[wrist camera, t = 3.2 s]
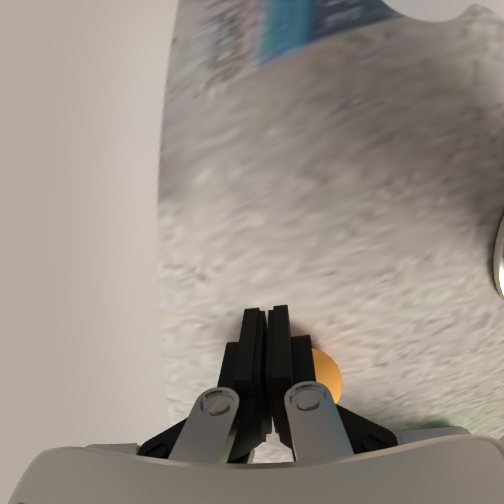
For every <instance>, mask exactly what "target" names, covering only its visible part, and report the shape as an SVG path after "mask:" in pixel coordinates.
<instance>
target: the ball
mask: <svg viewBox="0 0 504 504" xmlns="http://www.w3.org/2000/svg"><path fill="white" fill-rule="evenodd" d="M312 352H313V360H314V367H315V375H316V382H319V383H322V384H324V385H325V386H326V387H328V389H329V390H330V392H331V395H332V397H333V400H334V402H335V404H337V402H338V400H339V398H340V395H341V391H342V377H341V373H340V370H339V368H338V366H337V364H336V363H335V362H334V361H333V359H332V358H331V357H329V356H328V355H327V354H325V353H324V352H322V351H320V350H317V349H314V348H312Z"/></svg>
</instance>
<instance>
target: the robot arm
mask: <svg viewBox="0 0 504 504" xmlns="http://www.w3.org/2000/svg"><path fill="white" fill-rule="evenodd" d="M493 271H494V280H495V284H496V287H497V290H498V292H499V294H500V295H501V297H502V298H503V299H504V216H503V219H502V221H501V224H500V227H499V231H498V235H497V238H496V243H495V250H494V260H493ZM272 417H273V422H274V427H275V432H276V433H279V437H280V442H282V443H283V444H284V445H286V446H287V447H289V448H290V449H291V452H292V457H293V462H282V463H257V464H252V462H253V458H254V453H255V450H254V448H256V447H257V446H258V445H259V444H261V443H262V442H266V434H271V433H272ZM8 504H504V445H503V444H502V443H501V442H499V441H498V440H496V439H495V438H492V437H489V436H484V435H471V433H470V432H469V431H468V430H467V429H465V428H463V427H460V426H451V427H442V428H432V429H420V430H403V431H402V433H399V434H393V433H392V432H391V431H389V430H388V429H386V428H384V427H382V426H379V425H377V424H375V423H373V422H371V421H369V420H367V419H365V418H363V417H361V416H359V415H357V414H355V413H353V412H351V411H349V410H347V409H345V408H343V407H341V406H339V405H337V404H335V402H334V400H333V397H332V395H331V392H330V390H329V389H328V387H326V386H325V385H324V384H322V383H319V382H316V375H315V367H314V360H313V352H312V345H311V338H310V335H304V336H296V337H291V331H290V322H289V313H288V305H280V306H274V307H273V310H269V311H268V328H267V322H266V316H265V311H260V310H259V308H250V309H245V310H244V316H243V321H242V327H241V333H240V339H239V342H228V343H227V345H226V349H225V353H224V358H223V362H222V367H221V372H220V376H219V381H218V385H217V387H216V388H212V389H209V390H207V391H205V392H203V393H202V394H201V395H200V396H199V397H198V398H197V400H196V402H195V404H194V406H193V408H192V410H191V412H190V414H189V416H188V418H186V419H184V420H183V421H181V422H179V423H177V424H176V425H174V426H172V427H171V428H169V429H167V430H165V431H164V432H162V433H160V434H159V435H157V436H155V437H153V438H151V439H150V440H148V441H146V442H145V443H144V444H143V445H142V446H139V445H138V444H137V443H131V444H93V445H88V446H86V447H60V448H53V449H49V450H46V451H44V452H42V453H40V454H39V455H38V456H37V457H36V458H35V459H34V460H33V461H32V462H31V464H30V465H29V467H28V468H27V470H26V471H25V473H24V474H23V476H22V478H21V479H20V481H19V483H18V485H17V486H16V488H15V490H14V492H13V494H12V496H11V498H10V500H9V502H8Z"/></svg>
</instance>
